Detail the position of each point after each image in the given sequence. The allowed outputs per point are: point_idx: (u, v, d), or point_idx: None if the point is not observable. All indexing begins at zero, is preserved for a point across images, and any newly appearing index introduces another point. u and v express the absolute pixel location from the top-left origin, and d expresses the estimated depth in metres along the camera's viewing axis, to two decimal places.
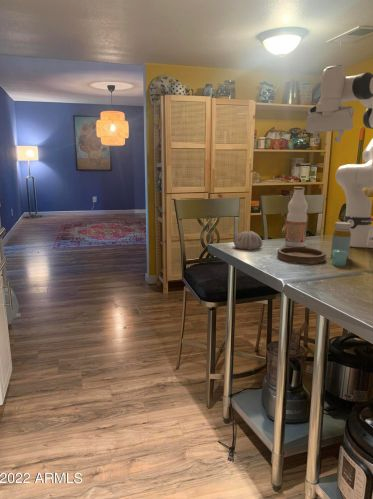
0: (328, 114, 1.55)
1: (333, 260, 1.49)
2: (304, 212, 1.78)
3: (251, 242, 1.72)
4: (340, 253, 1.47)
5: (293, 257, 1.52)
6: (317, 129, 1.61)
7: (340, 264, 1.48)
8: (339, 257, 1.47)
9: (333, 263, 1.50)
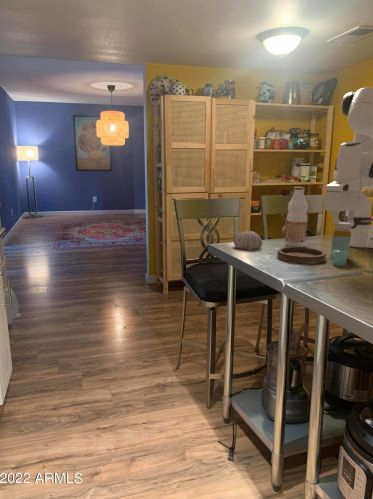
0: (354, 194, 1.43)
1: (333, 260, 1.49)
2: (304, 212, 1.78)
3: (251, 242, 1.72)
4: (340, 253, 1.47)
5: (293, 257, 1.52)
6: (342, 209, 1.42)
7: (340, 264, 1.48)
8: (339, 257, 1.47)
9: (333, 263, 1.50)
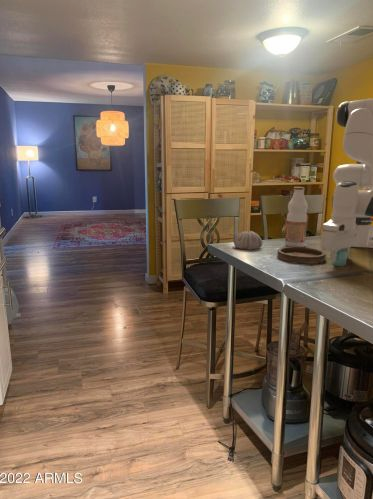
0: (350, 232, 1.46)
1: None
2: (304, 212, 1.78)
3: (251, 242, 1.72)
4: (340, 253, 1.47)
5: (293, 257, 1.52)
6: (338, 247, 1.45)
7: (340, 264, 1.48)
8: (339, 257, 1.47)
9: (333, 263, 1.50)
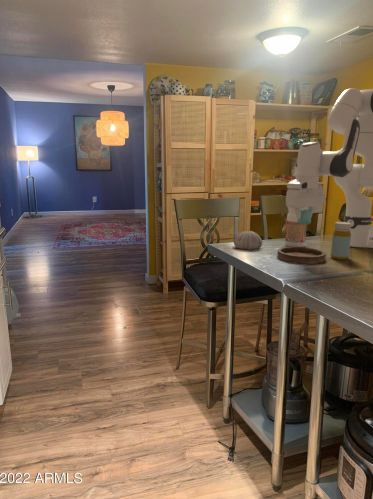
0: (314, 191, 1.52)
1: (298, 219, 1.56)
2: None
3: (251, 242, 1.72)
4: (304, 211, 1.53)
5: (293, 257, 1.52)
6: (302, 205, 1.51)
7: (304, 222, 1.54)
8: (303, 215, 1.54)
9: (298, 221, 1.56)
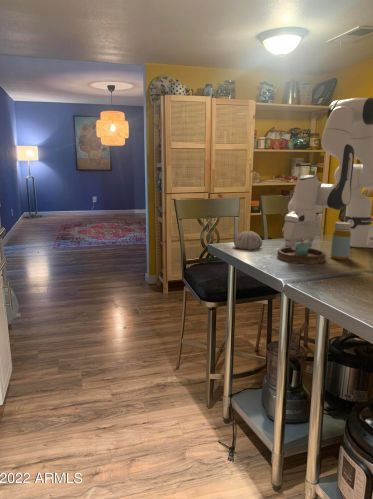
0: (311, 223, 1.55)
1: (295, 252, 1.59)
2: None
3: (251, 242, 1.72)
4: (301, 245, 1.56)
5: (293, 257, 1.52)
6: (300, 237, 1.54)
7: None
8: (300, 249, 1.57)
9: None
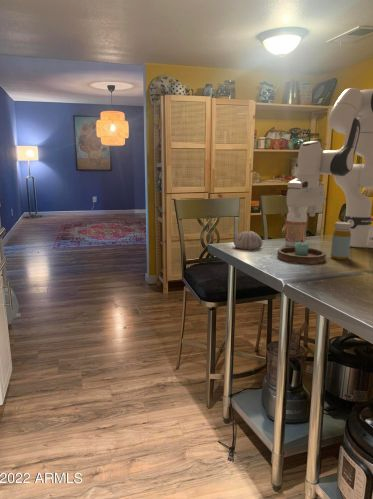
0: (314, 190, 1.53)
1: (296, 252, 1.59)
2: (304, 212, 1.78)
3: (251, 242, 1.72)
4: (302, 245, 1.56)
5: (293, 257, 1.52)
6: (303, 204, 1.52)
7: None
8: (300, 249, 1.57)
9: None
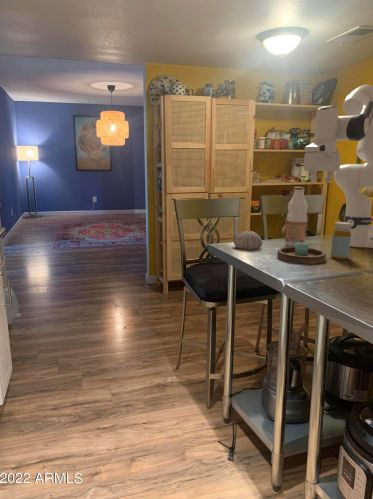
0: (331, 155, 1.53)
1: (295, 252, 1.59)
2: (304, 212, 1.78)
3: (251, 242, 1.72)
4: (301, 245, 1.56)
5: (293, 257, 1.52)
6: (320, 169, 1.52)
7: None
8: (300, 249, 1.57)
9: None
